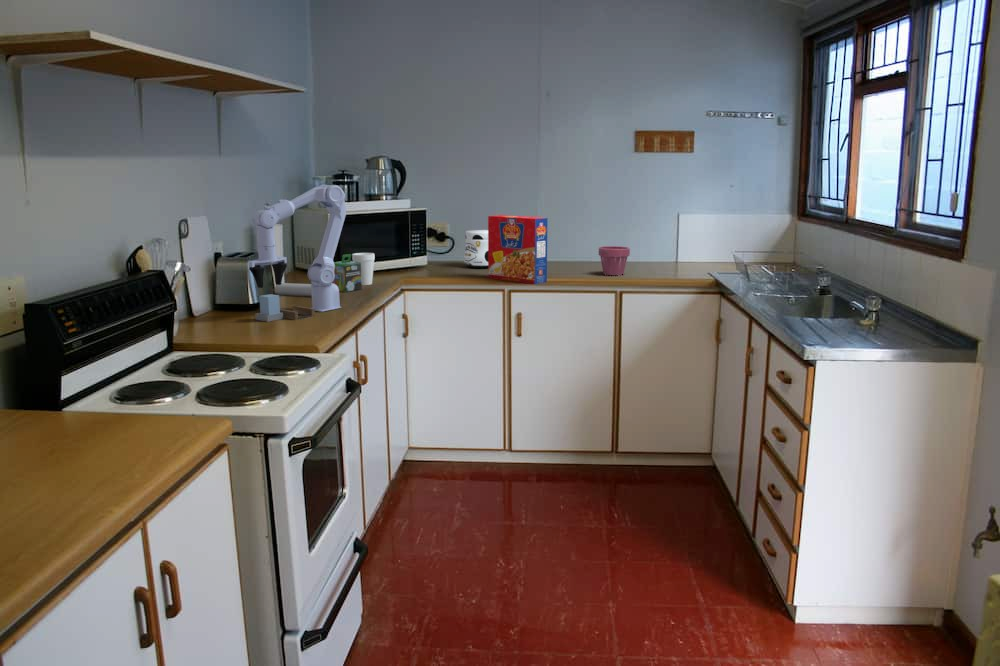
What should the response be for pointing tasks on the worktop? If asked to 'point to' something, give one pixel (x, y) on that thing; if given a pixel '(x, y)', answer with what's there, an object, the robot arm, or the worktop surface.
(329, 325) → the worktop surface
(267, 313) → the block
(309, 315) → the channel
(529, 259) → the pasta box
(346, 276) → the chalk box
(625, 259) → the plant pot
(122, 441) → the worktop surface
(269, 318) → the stand
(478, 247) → the milk container
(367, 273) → the foam cup
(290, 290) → the tube
